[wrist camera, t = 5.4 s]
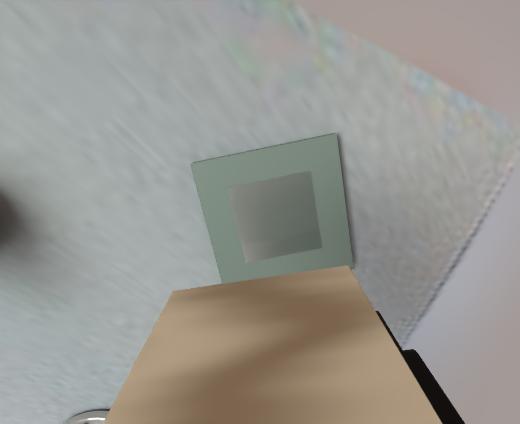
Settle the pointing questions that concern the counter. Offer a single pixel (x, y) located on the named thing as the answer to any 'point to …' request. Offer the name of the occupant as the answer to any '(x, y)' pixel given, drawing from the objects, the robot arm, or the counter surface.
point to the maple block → (272, 358)
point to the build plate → (276, 209)
